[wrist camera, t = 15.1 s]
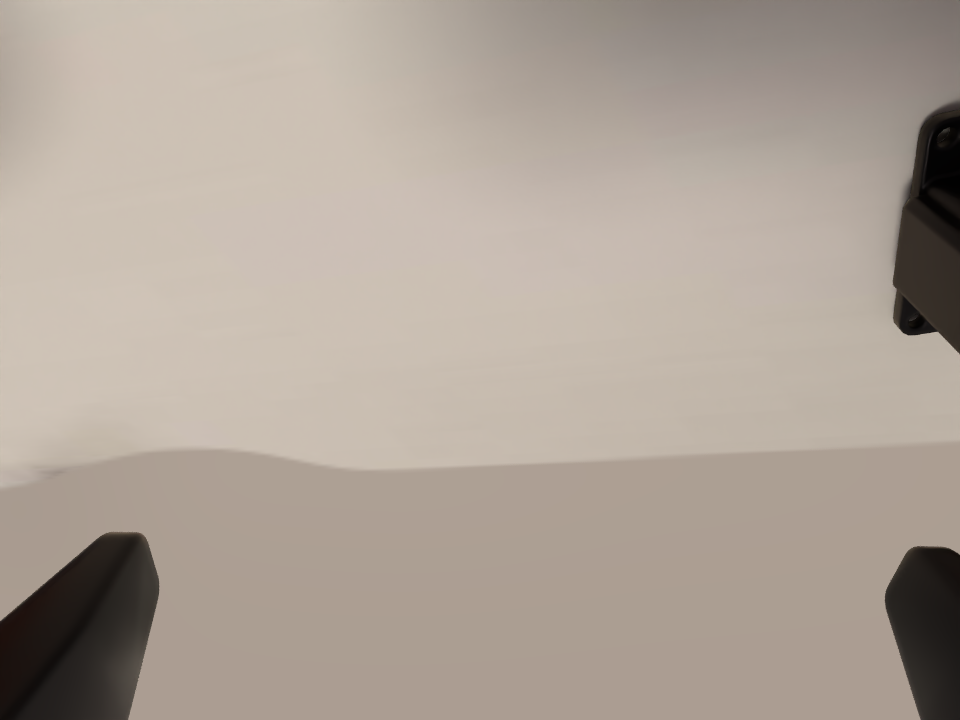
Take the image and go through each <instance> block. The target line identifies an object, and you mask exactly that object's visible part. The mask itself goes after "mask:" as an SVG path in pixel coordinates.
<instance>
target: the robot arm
mask: <svg viewBox="0 0 960 720" xmlns="http://www.w3.org/2000/svg"><path fill="white" fill-rule="evenodd" d="M947 128H949V129H950V131H949V133H948V136H947V137H946V138H945V139H944V140H942V141H940V142H937V138H938V135H939V134H940V133H941V132H942V131H943V130H944V129H947ZM893 285H894V287H895V288H896V289H897V294H896V301H895V308H894V315H893V319H894V323H895V324H896V325H897V327H898V328H899V329H900V330H901V331H902V332H903V333H904V334H907V335H920V334H926V333H932V332H939V333H940V334H941V335H942V336H943V337H944V338H945V339H946V340H947V341H948V342H949V343H950V344H951V345H952V347H953V348H954V349H955V350H956V351H957V352H958V353H959V354H960V110H955V111H950V112H945V113H941V114H938V115H936V116H933V117H932V118H931V119H929V120H928V121H927V122H926V123H925V124H924V126H923V127H922V128H921V131H920V134H919V138H918V145H917V152H916V159H915V166H914V173H913V180H912V187H911V194H910V199H909V200H908V201H907V203H906V204H905V206H904V207H903V211H902V219H901V226H900V233H899V241H898V248H897V255H896V263H895V270H894V277H893ZM916 314H919V315H918V317H917V318H916V319H914V320H912V321H909V320H910V318H912V317H913V316H914V315H916ZM158 595H159V579H158V575H157V571H156V568H155V565H154V561H153V558H152V555H151V551H150V548H149V545H148V542H147V539H146V538H145V536H144V535H142V534H141V533H137V532H109V533H106V534H104V535H102V536H100V537H99V538H98V539H96V540H95V541H94V542H93V543H92V544H91V545H89V546H88V547H87V548H86V549H85V550H83V551H82V552H81V553H80V554H79V555H78V556H77V557H75V558H74V559H73V560H72V561H71V562H69V563H68V564H67V565H66V566H65V567H64V568H62V569H61V570H60V571H59V572H58V573H56V574H55V575H54V576H53V577H52V578H51V579H49V580H48V581H47V582H46V583H45V584H43V585H42V586H41V587H40V588H39V589H38V590H36V591H35V592H34V593H33V594H32V595H31V596H30V597H28V598H27V599H26V600H25V601H23V602H22V603H21V604H20V605H19V606H18V607H17V608H15V609H14V610H13V611H12V612H11V613H9V614H8V615H7V616H6V617H5V618H4V619H2V620H1V621H0V720H128V717H129V714H130V710H131V706H132V702H133V698H134V694H135V690H136V686H137V682H138V678H139V674H140V670H141V666H142V662H143V658H144V654H145V650H146V645H147V641H148V637H149V633H150V629H151V625H152V621H153V617H154V612H155V609H156V604H157V600H158ZM885 605H886V610H887V614H888V617H889V620H890V623H891V626H892V630H893V633H894V636H895V640H896V642H897V646H898V649H899V652H900V655H901V659H902V662H903V665H904V668H905V671H906V675H907V678H908V681H909V684H910V687H911V690H912V694H913V697H914V700H915V703H916V707H917V710H918V713H919V716H920V719H921V720H960V555H959V554H958V553H956V552H955V551H953V550H951V549H949V548H946V547H927V546H926V547H925V546H921V547H920V546H917V547H913V548H911V549H910V550H909V551H908V552H907V553H906V554H905V556H904V558H903V560H902V562H901V564H900V565H899V567H898V569H897V571H896V573H895V574H894V576H893V578H892V580H891V582H890V583H889V585H888V587H887V590H886V594H885Z"/></svg>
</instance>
